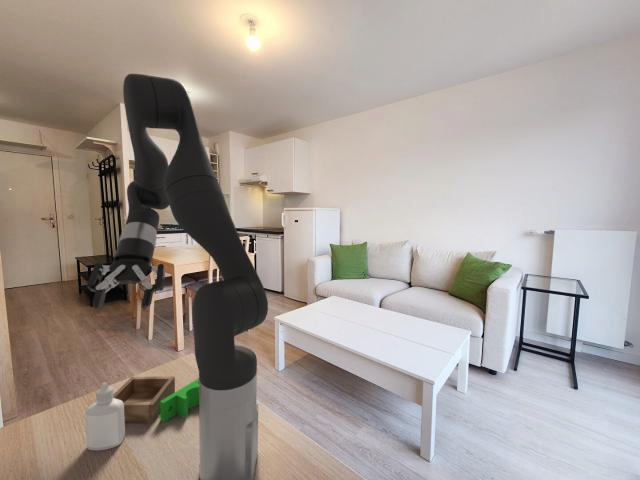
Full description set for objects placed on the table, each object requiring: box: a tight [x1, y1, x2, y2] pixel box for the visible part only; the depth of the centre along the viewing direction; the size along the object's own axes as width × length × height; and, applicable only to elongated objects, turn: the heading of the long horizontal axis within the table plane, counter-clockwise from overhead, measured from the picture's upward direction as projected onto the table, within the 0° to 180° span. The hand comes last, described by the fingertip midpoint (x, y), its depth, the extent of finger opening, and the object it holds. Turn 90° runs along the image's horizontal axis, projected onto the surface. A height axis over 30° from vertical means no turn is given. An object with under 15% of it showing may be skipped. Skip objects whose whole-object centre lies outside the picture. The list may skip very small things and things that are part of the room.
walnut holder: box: [113, 375, 176, 424], centre depth 62 cm, size 10×10×4 cm
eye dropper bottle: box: [85, 381, 126, 452], centre depth 52 cm, size 4×6×12 cm
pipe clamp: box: [159, 377, 199, 423], centre depth 62 cm, size 11×4×5 cm, turn 153°
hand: (121, 308), depth 60 cm, fingers open, 8 cm apart
